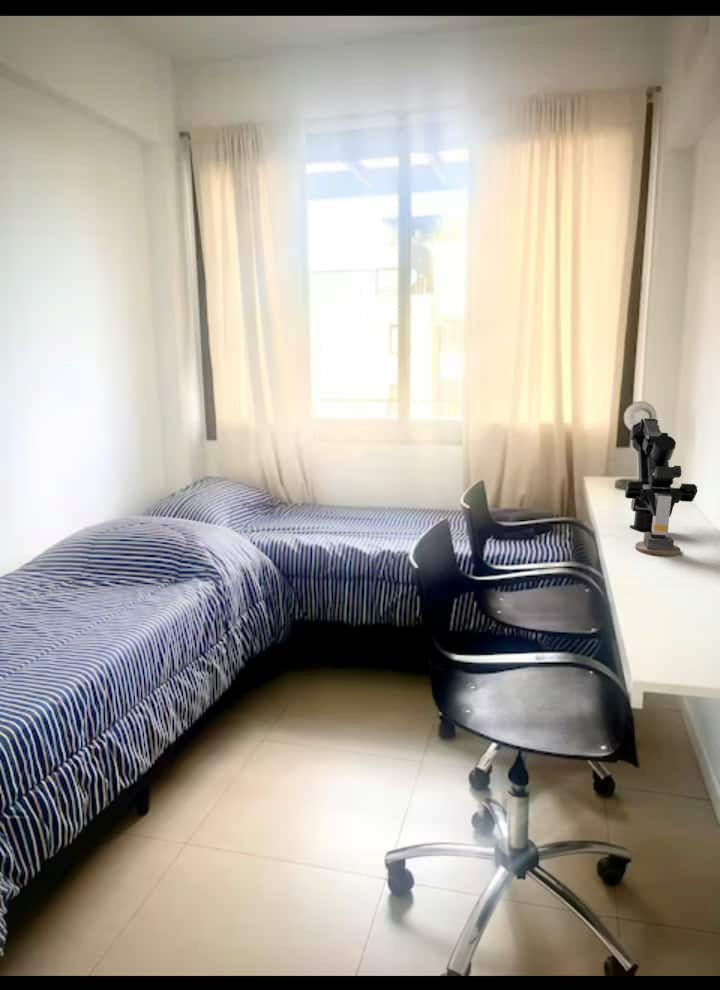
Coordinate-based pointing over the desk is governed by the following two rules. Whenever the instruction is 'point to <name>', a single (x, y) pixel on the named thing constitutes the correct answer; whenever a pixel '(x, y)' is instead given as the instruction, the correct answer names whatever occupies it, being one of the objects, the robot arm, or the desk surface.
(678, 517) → the desk surface
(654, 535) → the stand base
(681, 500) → the robot arm
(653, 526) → the post
